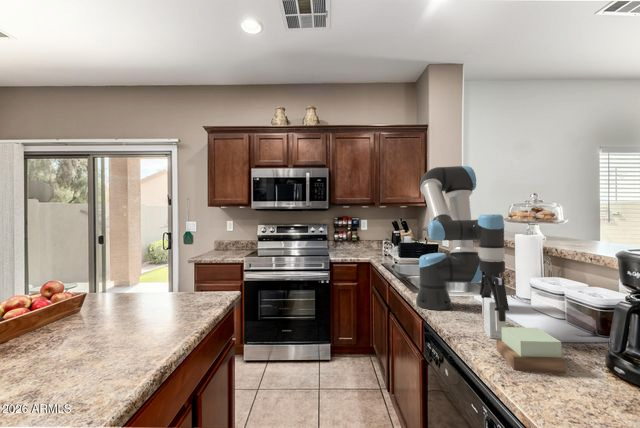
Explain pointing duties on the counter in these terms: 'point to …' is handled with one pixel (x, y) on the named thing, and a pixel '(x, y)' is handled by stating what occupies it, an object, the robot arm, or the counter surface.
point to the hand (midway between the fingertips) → (493, 323)
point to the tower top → (531, 342)
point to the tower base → (530, 361)
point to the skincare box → (490, 319)
